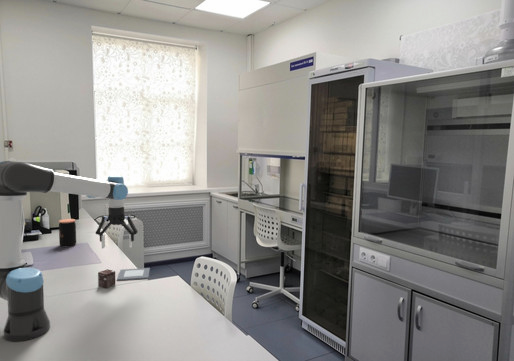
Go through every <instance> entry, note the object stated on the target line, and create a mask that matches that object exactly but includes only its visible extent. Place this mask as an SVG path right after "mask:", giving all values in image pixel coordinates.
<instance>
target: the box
mask: <svg viewBox="0 0 514 361" xmlns="http://www.w3.org/2000/svg"><path fill="white" fill-rule="evenodd" d="M97 284H98V285H97V287H99V288H102V289H103V288H104V289H109V288H111V287H114V286H116V270H113V269H112V270H111V269H105V270H101V271H99V272H98V273H97Z"/></svg>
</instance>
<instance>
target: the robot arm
mask: <svg viewBox="0 0 514 361" xmlns="http://www.w3.org/2000/svg"><path fill="white" fill-rule="evenodd" d="M124 181H125V180H124V177H123V176H121V175H109V176H108V177H107V180H99V179H94V178H89V177H84V176H83V177H82V176H78V175H72V174H66V173H59V172H54V170H53V169H51V168H47V167H42V166H39V165H34V164H32V163H28V162H24V161H14V160H13V161H12V160H3V161H2V160H1V161H0V298H1V299H3V300H5V301H6V302H7V314H8V315H7V318H6V322H5V324H4V325H5V326H4V327H3V338H4V339H5V340H6V341H9V342H24V341H28V340H31V339H36V338H38V337H40V336H42V335H44V334H46V333H47V332H48V331H49V330H50V328H51V321H50V318H49V316H48V314H47V312H46V310H45V298H44V296H45V295H44V276H43V273H42V271H41V270H40V269H38V268H35V267H26V260H24V259H23V258H22V235H23V234H22V226H23V225H22V224H23V200H24V199H25V197H27V195H28V193H41V194H48V193H49V192H55V193H62V194H70V195H71V194H72V195H78V196H79V195H80V196H86V197H87V198H88V199H94V198H103V199H108V200H107V202H108V203H107V205H108V207H107V208H108V216H107V215H103V216H102V217H101V220H100V221H101V222H100V223H99V225H98V227H97V229H96V231H95V234H96V235H98V236H99V242H101V249H105V247H106V235H105V233H106V231H107V230H108V229H109V228H110V226H112V225H113V226H116V225H117V226H119V225H120V226H122V227H123V228H124V229H125V231H127V233H128V234H129V236H128V237H129V238H128V241H129V242H128V243H129V244H128V246H129V249H131V248H132V247H133V242H134V241H135V235H137V234H138V233H139V232H138V230H137V228H136V225H135V224H134V222H133V220H132V216H131V215H125V199H126V198H127V197H128V194H129V189H128V187H127V185H125V182H124ZM107 220H108V221H109V222H108V223H107V224H106V225H105V222H106V221H107ZM125 221H127V222H128V224H129V225H128V224H127V222H125ZM104 225H105V227H104ZM103 227H104V228H103ZM102 228H103V229H102Z"/></svg>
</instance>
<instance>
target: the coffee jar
mask: <svg viewBox="0 0 514 361" xmlns="http://www.w3.org/2000/svg"><path fill="white" fill-rule="evenodd" d="M58 223H59V224H58V237H59V238H58V239H59V243H58V244H59V245H60V247H61V246H70V247H74V246H76V244H77V224H76V219H74V218H65V219H60V220H58ZM73 245H74V246H73Z"/></svg>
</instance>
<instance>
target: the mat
mask: <svg viewBox="0 0 514 361" xmlns="http://www.w3.org/2000/svg"><path fill="white" fill-rule="evenodd" d="M150 269H151V268H150V267H143V268H141V267H140V268H128V269H127V268H126V269H124V268H122V269H120V271H119V272H118V275H117V278H116V281H117V282H119V281H120V282H121V281H134V280H136V281H137V280H149V277H150Z"/></svg>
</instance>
